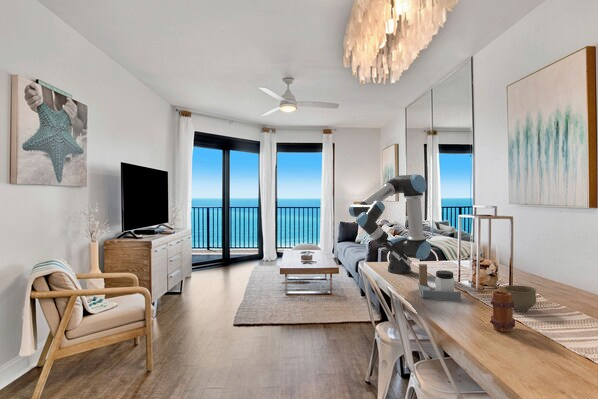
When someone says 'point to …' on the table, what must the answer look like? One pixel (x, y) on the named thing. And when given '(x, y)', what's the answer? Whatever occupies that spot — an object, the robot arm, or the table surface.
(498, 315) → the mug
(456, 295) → the pull strip
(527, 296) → the bowl
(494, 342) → the table surface
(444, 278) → the jar
